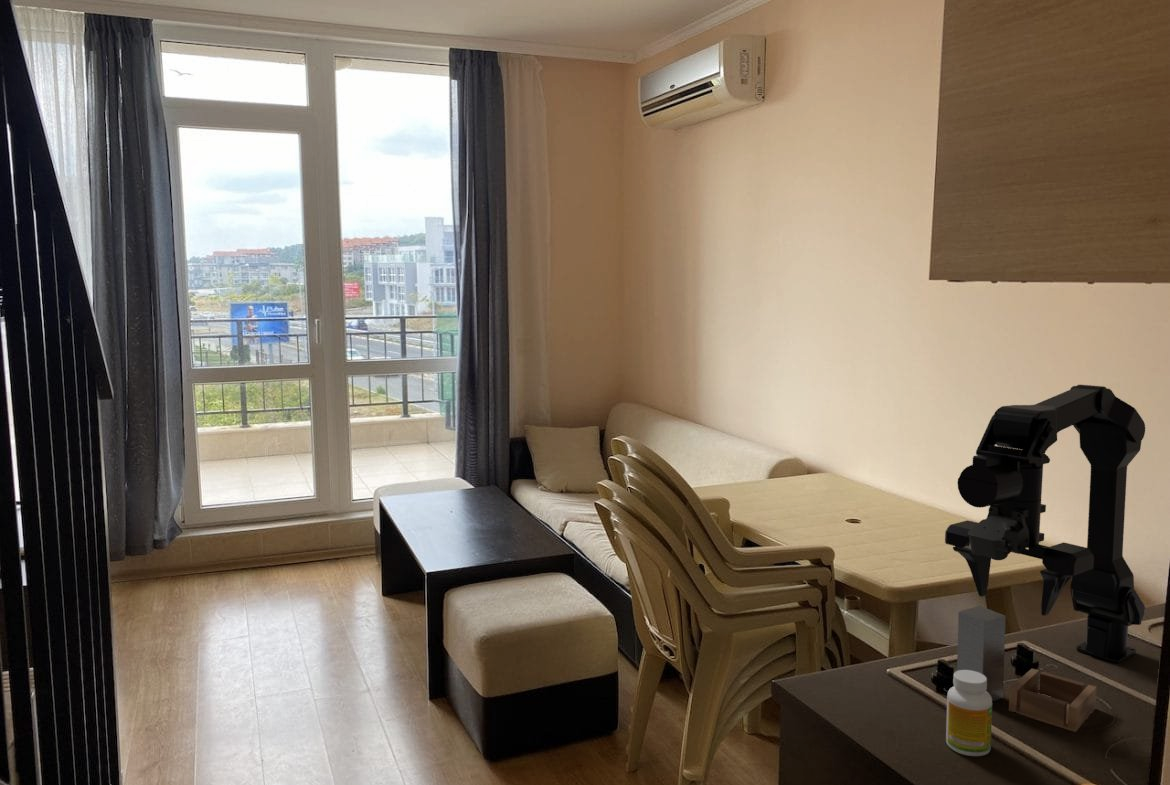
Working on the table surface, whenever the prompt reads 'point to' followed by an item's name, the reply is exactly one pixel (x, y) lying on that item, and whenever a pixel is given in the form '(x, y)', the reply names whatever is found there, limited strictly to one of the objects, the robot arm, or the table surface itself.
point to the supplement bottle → (969, 714)
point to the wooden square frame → (1053, 699)
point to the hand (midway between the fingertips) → (1012, 605)
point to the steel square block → (982, 646)
